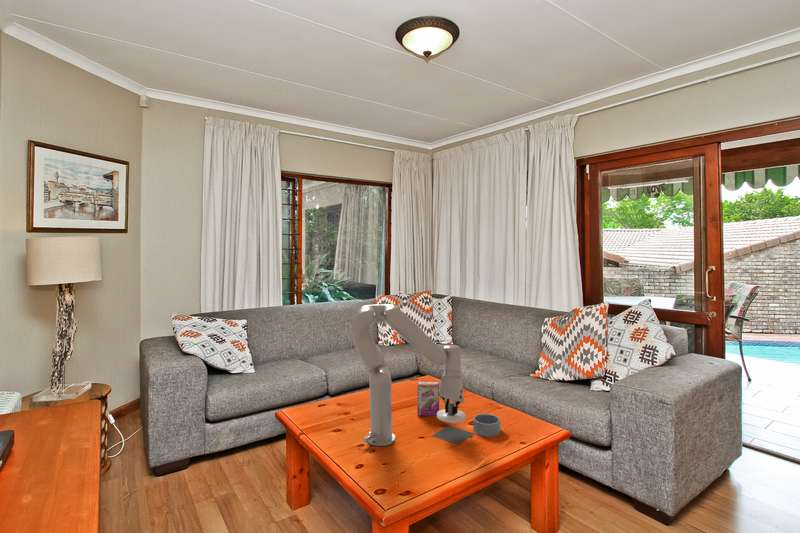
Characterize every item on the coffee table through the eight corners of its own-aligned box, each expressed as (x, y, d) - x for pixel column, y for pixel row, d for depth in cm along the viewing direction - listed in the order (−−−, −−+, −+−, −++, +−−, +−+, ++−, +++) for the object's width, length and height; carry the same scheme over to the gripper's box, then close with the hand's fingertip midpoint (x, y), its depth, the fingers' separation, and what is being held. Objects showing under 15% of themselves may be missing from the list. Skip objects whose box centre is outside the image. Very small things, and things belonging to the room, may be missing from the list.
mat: (458, 446, 178) (458, 444, 178) (431, 437, 187) (431, 435, 187) (474, 434, 188) (474, 433, 188) (448, 426, 197) (448, 425, 197)
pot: (492, 440, 183) (492, 426, 183) (468, 432, 190) (468, 420, 190) (504, 430, 192) (504, 418, 192) (481, 424, 200) (481, 411, 199)
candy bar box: (417, 416, 210) (417, 384, 210) (418, 412, 215) (417, 381, 215) (439, 416, 209) (439, 384, 209) (439, 413, 214) (439, 381, 214)
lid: (455, 425, 178) (456, 411, 178) (431, 417, 186) (431, 403, 186) (471, 416, 188) (471, 403, 188) (446, 409, 196) (447, 396, 196)
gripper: (432, 371, 189) (431, 410, 189) (463, 378, 178) (462, 420, 179) (441, 367, 195) (440, 406, 195) (472, 374, 184) (471, 415, 185)
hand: (451, 412), depth 187 cm, fingers closed on lid, 3 cm apart
